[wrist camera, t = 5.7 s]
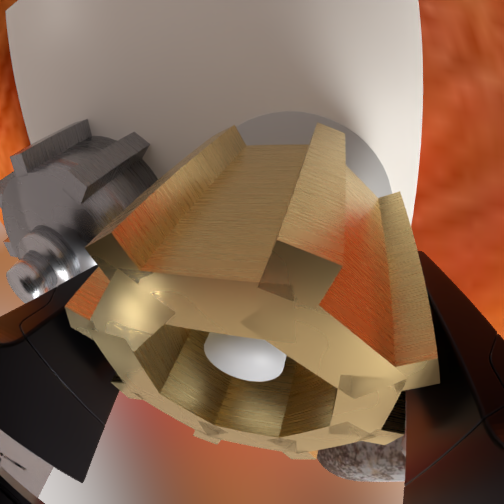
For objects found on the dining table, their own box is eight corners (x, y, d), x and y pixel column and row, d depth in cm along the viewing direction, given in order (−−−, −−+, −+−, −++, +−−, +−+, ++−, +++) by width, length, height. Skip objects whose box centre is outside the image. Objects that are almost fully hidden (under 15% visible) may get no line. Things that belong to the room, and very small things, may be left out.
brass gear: (415, 127, 6) (501, 254, 2) (384, 326, 10) (379, 466, 6) (155, 133, 8) (16, 229, 4) (201, 309, 12) (144, 422, 8)
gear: (163, 101, 9) (35, 166, 5) (206, 287, 14) (150, 392, 10) (28, 137, 12) (-61, 194, 7) (80, 270, 16) (21, 340, 12)
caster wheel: (263, 323, 21) (397, 269, 14) (349, 421, 22) (468, 402, 15) (204, 399, 16) (359, 383, 9) (315, 492, 17) (449, 496, 10)
